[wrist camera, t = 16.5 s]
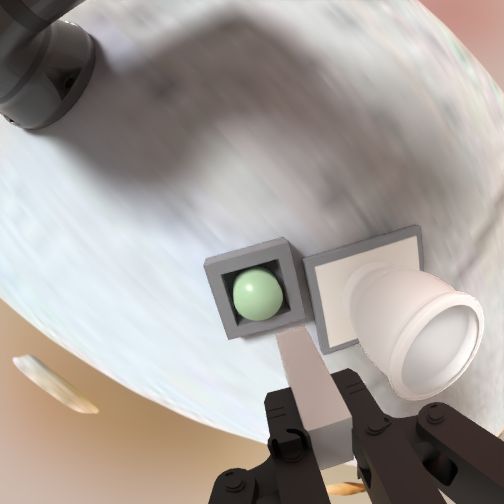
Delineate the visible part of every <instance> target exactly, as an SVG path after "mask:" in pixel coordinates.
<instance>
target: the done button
mask: <svg viewBox="0 0 504 504" xmlns="http://www.w3.org/2000/svg"><path fill="white" fill-rule="evenodd" d="M233 296H234V305H235V307H236V309H237V311H238V312H239V313H240V314H241V315H242V316H243V317H245V318H247V319H249V320H254V321H261V320H265V319H268V318H270V317H272V316H273V315H274V314H275V313H276V312H277V311H278V310H279V308H280V307H281V304H282V299H283V294H282V290H281V288H280V286H279V284H278V282H277V280H276V278H275V276H274V275H273V273H272V272H271V271H269V270H268V269H266V268H263V267H259V266H253V267H249V268H246V269H244V270H243V271H241V272H240V273H239V274H238V275H237V277H236V279H235V281H234V284H233Z"/></svg>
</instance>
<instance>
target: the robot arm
mask: <svg viewBox="0 0 504 504" xmlns="http://www.w3.org/2000/svg"><path fill="white" fill-rule="evenodd" d="M84 1H85V0H0V114H2V115H3V116H4V117H5V119H6V120H7V121H8V122H10V123H11V124H13V125H15V126H18V127H22V128H27V129H38V128H42V127H45V126H47V125H50V124H51V123H53V122H55V121H56V120H58V119H59V118H60V117H62V116H63V115H64V114H65V113H66V112H67V111H68V110H69V109H70V108H71V107H72V106H73V105H74V104H75V102H76V101H77V100H78V98H79V97H80V96H81V94H82V93H83V91H84V89H85V87H86V85H87V83H88V81H89V79H90V77H91V74H92V71H93V67H94V62H95V48H94V43H93V41H92V39H91V37H90V36H89V35H88V34H87V33H86V32H85V31H84V30H83V29H82V28H81V27H80V26H78V25H77V24H75V23H71V22H66V21H60V20H58V19H59V18H60V17H62V16H63V15H64V14H66V13H67V12H69V11H70V10H72V9H73V8H75V7H76V6H78V5H79V4H81V3H82V2H84ZM275 336H276V340H277V344H278V348H279V352H280V356H281V360H282V364H283V368H284V371H285V375H286V379H287V382H288V385H289V387H288V388H285V389H281V390H277V391H273V392H269V393H267V396H266V398H265V401H264V405H265V410H266V416H267V421H268V427H269V432H270V438H269V439H268V445H267V446H268V449H269V451H270V454H271V455H270V456H269V458H268V459H267V460H266V461H265V462H264V463H262V464H261V465H259V466H257V467H255V468H253V469H251V470H246V469H241V468H234V469H229V470H227V471H225V472H223V473H222V474H220V475H219V476H218V477H217V479H216V481H215V483H214V486H213V490H212V493H211V496H210V499H209V502H208V504H331V503H330V500H329V497H328V494H327V491H326V488H325V485H324V482H323V478H322V476H321V472H320V470H324V469H327V468H330V467H333V466H336V465H339V464H342V463H345V462H348V461H351V460H354V456H355V458H356V460H357V476H358V479H360V478H362V481H363V483H364V486H365V488H366V490H367V492H368V495H369V497H370V499H371V502H372V504H447V503H446V501H445V500H444V498H443V496H442V495H441V493H440V492H439V490H441V491H442V492H443V493H444V494H445V495H446V496H448V497H449V498H450V499H451V500H452V501H454V502H455V503H456V504H504V441H502V440H501V439H499V438H498V437H496V436H494V435H493V434H491V433H490V432H488V431H487V430H485V429H484V428H482V427H481V426H479V425H478V424H476V423H475V422H473V421H472V420H470V419H468V418H467V417H465V416H464V415H462V414H461V413H459V412H458V411H456V410H455V409H453V408H452V407H450V406H449V405H447V404H444V403H440V402H434V403H430V404H428V405H426V406H424V407H423V408H422V409H421V410H420V411H419V414H418V415H416V416H411V417H406V418H393V417H391V416H389V415H387V414H384V413H383V412H382V410H381V409H380V407H379V406H378V404H377V403H376V401H375V400H374V398H373V397H372V395H371V393H370V392H369V390H368V389H367V388H366V386H365V384H364V383H363V381H362V380H361V378H360V376H359V375H358V373H356V372H354V371H353V370H351V369H349V368H347V369H345V370H342V371H339V372H336V373H333V374H330V373H329V371H328V369H327V367H326V365H325V363H324V362H323V360H322V358H321V356H320V354H319V352H318V350H317V348H316V346H315V344H314V342H313V341H312V339H311V337H310V335H309V333H308V331H307V329H306V327H305V325H304V326H301V327H297V328H294V329H290V330H287V331H283V332H280V333H276V334H275ZM353 454H354V455H353ZM438 489H439V490H438Z"/></svg>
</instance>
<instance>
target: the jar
mask: <svg viewBox="0 0 504 504" xmlns="http://www.w3.org/2000/svg"><path fill="white" fill-rule="evenodd" d="M342 305H343V309H344V312H345V314H346V315H347V317H348V318H349V319H350V320H351V323H352V326H353V329H354V331H355V333H356V335H357V337H358V340H359V342H360V344H361V346H362V348H363V350H364V352H365V353H366V355H367V356H368V358H369V359H370V360H371V361H372V363H373V364H374V365H375V366H376V367H377V368H378V369H379V370H380V371H381V372H383V373H384V374H385V375H386V376H388V378H389V382H390V384H391V386H392V388H393V389H394V391H395V392H396V394H397V395H398V396H399V397H401V398H403V399H405V400H409V401H419V400H424V399H427V398H430V397H432V396H434V395H436V394H438V393H440V392H442V391H443V390H445V389H446V388H447V387H449V386H450V385H451V384H452V383H453V382H455V381H456V380H457V379H458V378H459V377H460V375H461V374H462V373H463V372H464V371H465V369H466V368H467V367H468V365H469V364H470V362H471V361H472V359H473V357H474V356H475V354H476V352H477V349H478V347H479V344H480V342H481V338H482V334H483V329H484V315H483V310H482V307H481V305H480V304H479V302H478V301H477V300H476V299H475V298H474V297H472V296H471V295H469V294H467V293H465V292H460V291H455V290H454V289H453V288H452V287H451V286H450V285H448V284H447V283H445V282H444V281H443V280H441V279H439V278H438V277H436V276H434V275H431V274H429V273H427V272H424V271H420V270H416V269H410V268H406V267H401V266H393V265H391V264H390V263H387V262H383V261H374V262H370V263H367V264H365V265H363V266H361V267H360V268H358V269H357V270H356V271H355V272H354V273H353V274H352V275H351V276H350V278H349V279H348V281H347V283H346V285H345V287H344V290H343V294H342Z"/></svg>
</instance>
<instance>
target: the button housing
mask: <svg viewBox="0 0 504 504" xmlns="http://www.w3.org/2000/svg"><path fill="white" fill-rule="evenodd" d="M272 260H276V261H277V265H278V269H279V273H280V277H281V281H282V285H283V289H284V293H285V297H286V301H285V302H282V304H281V307H280V308H279V310H278V311H277V312H276V313H275V314H274V315H273V316H272V317H270V318H268V319H265V320H261V321H254V320H249V319H247V318H245V317H243V316H242V315H241V314H239V315H236V313H235V310H234V307H233V303H232V300H231V297H230V294H229V291H228V288H227V284H226V281H225V278H224V275H223V274H225V273H229V272H232V271H236V270H240V269H243V268H247V267H250V266H254V265H258V264H261V263H265V262H268V261H272ZM204 269H205V272H206V275H207V278H208V281H209V284H210V287H211V290H212V293H213V296H214V299H215V302H216V305H217V308H218V311H219V314H220V317H221V320H222V323H223V326H224V329H225V332H226V335H227V337H228V340H230V339H234V338H238V337H242V336H246V335H250V334H254V333H257V332H261V331H265V330H268V329H272V328H275V327H279V326H282V325H286V324H289V323H293V322H296V321H299V320H303V319H306V317H305V312H304V307H303V303H302V298H301V294H300V290H299V285H298V281H297V276H296V272H295V268H294V264H293V259H292V255H291V251H290V247H289V243H288V241H287V240H286V239H285V238H284V237H282V238H278V239H275V240H271V241H267V242H264V243H260V244H257V245H253V246H249V247H246V248H242V249H239V250H235V251H231V252H228V253H224V254H221V255H217V256H213V257H210V258H206V259H205V263H204Z"/></svg>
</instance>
